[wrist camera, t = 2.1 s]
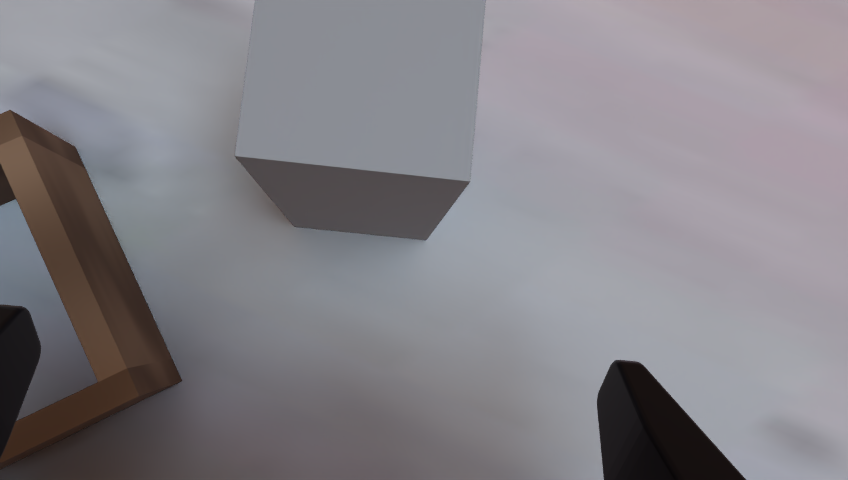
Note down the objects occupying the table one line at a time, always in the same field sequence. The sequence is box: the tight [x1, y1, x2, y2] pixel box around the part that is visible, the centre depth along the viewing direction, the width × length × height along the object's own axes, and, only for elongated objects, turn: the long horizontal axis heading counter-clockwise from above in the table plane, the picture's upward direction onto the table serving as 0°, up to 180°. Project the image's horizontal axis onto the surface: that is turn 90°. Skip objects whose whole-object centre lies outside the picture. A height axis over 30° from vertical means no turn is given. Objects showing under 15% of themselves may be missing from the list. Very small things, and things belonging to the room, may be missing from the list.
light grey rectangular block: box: [235, 0, 486, 240], centre depth 18 cm, size 4×4×10 cm
